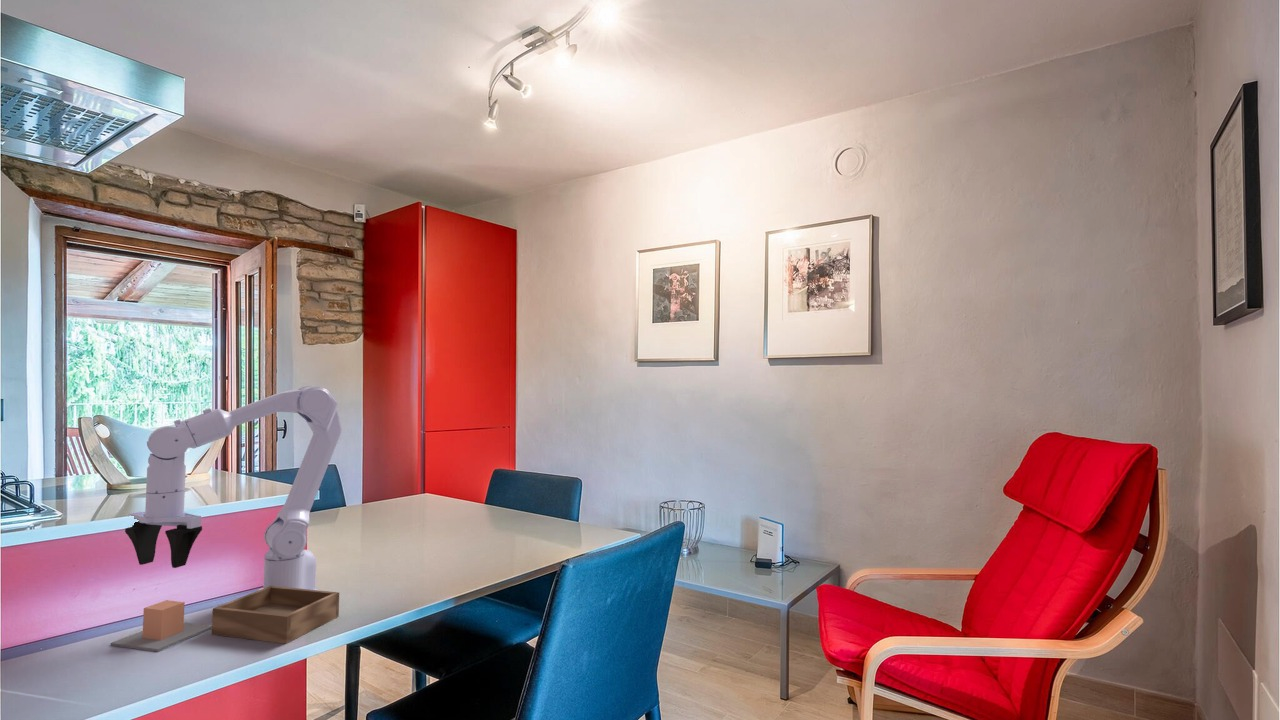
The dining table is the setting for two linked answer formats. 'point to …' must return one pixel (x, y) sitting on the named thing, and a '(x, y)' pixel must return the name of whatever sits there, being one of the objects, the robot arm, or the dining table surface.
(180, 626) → the terracotta block
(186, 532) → the robot arm
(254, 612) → the walnut box
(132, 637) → the slate mat
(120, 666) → the dining table surface
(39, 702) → the dining table surface
